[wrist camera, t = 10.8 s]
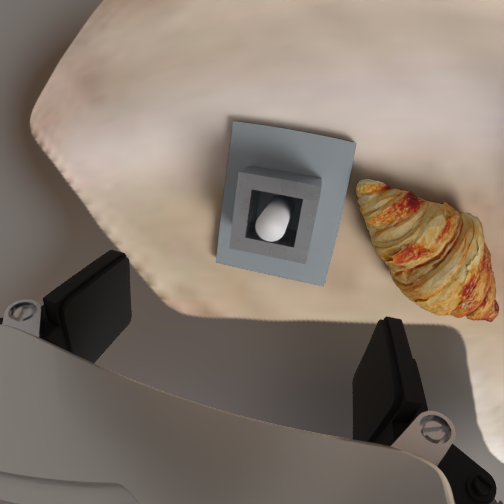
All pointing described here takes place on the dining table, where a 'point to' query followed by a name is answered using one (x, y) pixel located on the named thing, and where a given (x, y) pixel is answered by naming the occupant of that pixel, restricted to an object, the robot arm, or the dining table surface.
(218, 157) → the dining table surface
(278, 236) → the keeper
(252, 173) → the grey hollow block
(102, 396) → the robot arm
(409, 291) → the croissant
